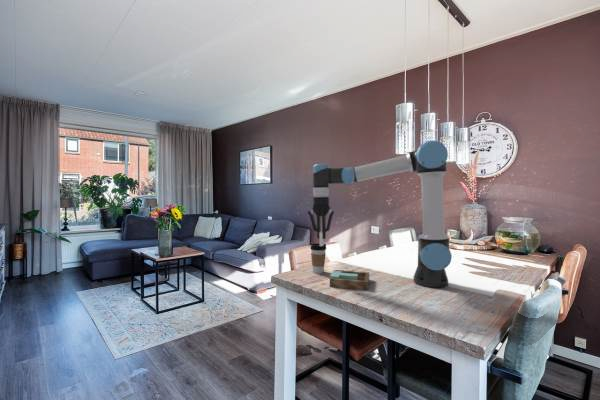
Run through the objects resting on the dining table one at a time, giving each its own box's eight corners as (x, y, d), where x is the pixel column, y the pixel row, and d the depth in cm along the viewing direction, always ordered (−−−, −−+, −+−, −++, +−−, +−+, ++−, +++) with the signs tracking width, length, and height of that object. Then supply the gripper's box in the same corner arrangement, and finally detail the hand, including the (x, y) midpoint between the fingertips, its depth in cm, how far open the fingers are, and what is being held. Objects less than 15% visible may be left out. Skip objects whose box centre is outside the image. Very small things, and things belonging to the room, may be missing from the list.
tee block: (358, 280, 147) (358, 272, 147) (356, 287, 137) (356, 278, 137) (333, 278, 150) (333, 270, 150) (330, 284, 141) (330, 276, 140)
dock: (369, 279, 149) (369, 272, 148) (367, 290, 133) (367, 282, 133) (335, 276, 153) (335, 269, 153) (329, 286, 138) (329, 278, 137)
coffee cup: (325, 274, 156) (325, 245, 156) (308, 273, 158) (309, 245, 158) (326, 270, 165) (327, 242, 164) (311, 269, 166) (311, 242, 166)
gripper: (335, 196, 147) (336, 244, 148) (309, 196, 151) (310, 243, 151) (333, 196, 140) (333, 247, 141) (305, 196, 143) (306, 246, 144)
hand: (321, 245), depth 146 cm, fingers closed
